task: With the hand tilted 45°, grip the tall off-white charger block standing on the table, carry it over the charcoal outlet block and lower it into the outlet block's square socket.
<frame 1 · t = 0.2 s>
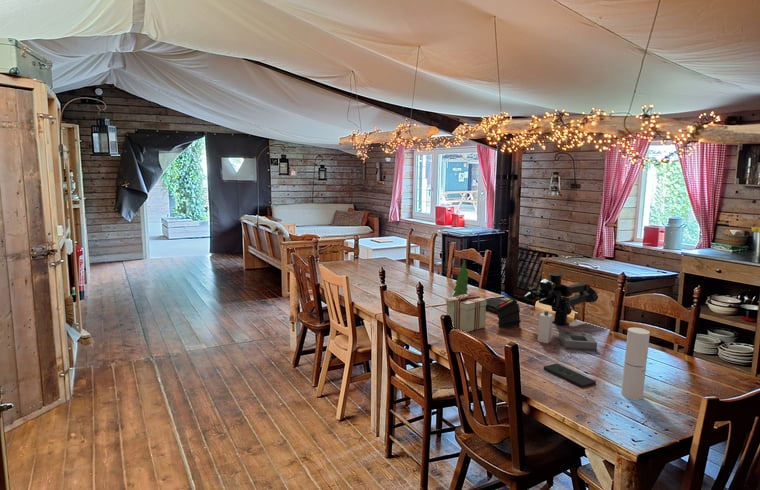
hand: (531, 299, 254), 17 cm above the table, tool horizontal, fingers open, 9 cm apart
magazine: (507, 327, 263), on the table
charger block: (544, 340, 243), on the table
gift box: (462, 326, 262), on the table
portable cd player: (498, 309, 297), on the table
decorative tree: (459, 310, 293), on the table
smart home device: (568, 377, 202), on the table
cylindrical container: (631, 396, 186), on the table
outlet block: (577, 346, 237), on the table
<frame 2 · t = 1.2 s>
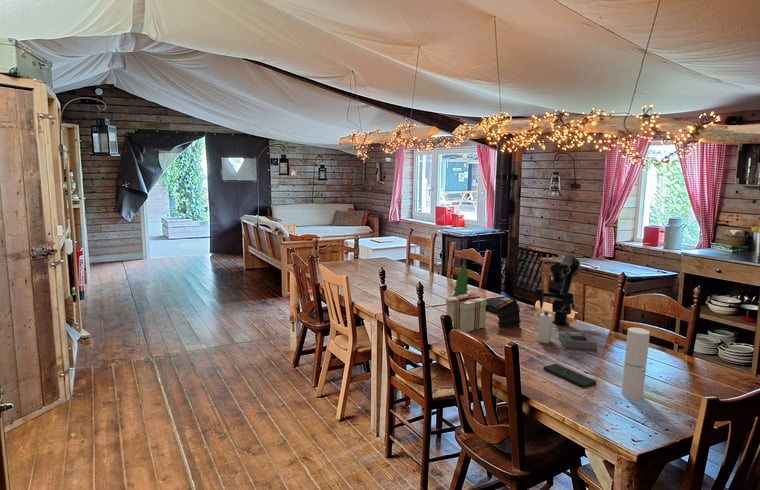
hand: (550, 310, 247), 13 cm above the table, tool tilted 45°, fingers open, 9 cm apart
nothing on the table moved.
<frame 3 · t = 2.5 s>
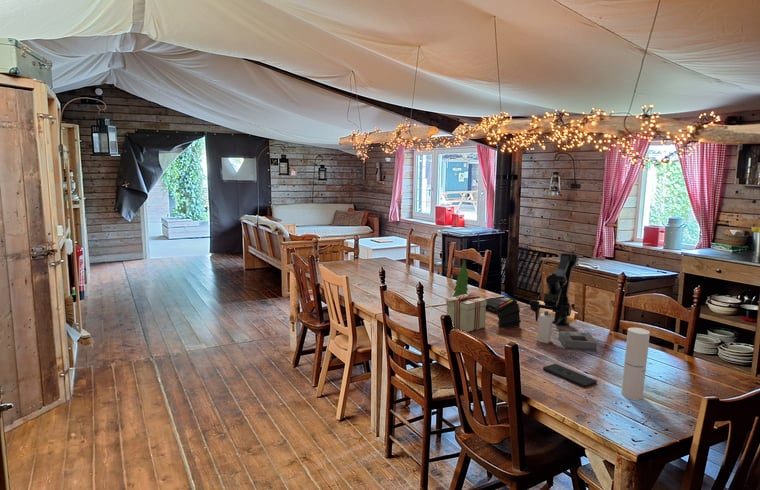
hand: (545, 322, 242), 9 cm above the table, tool tilted 45°, fingers open, 9 cm apart
nothing on the table moved.
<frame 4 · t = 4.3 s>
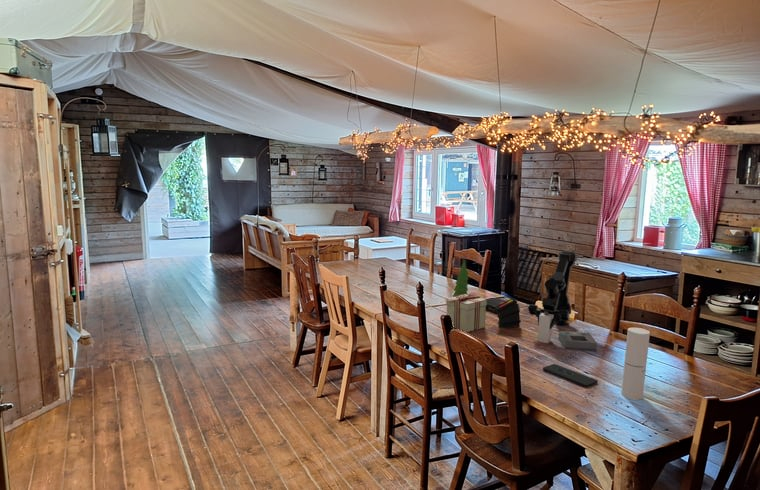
hand: (544, 327, 241), 7 cm above the table, tool tilted 45°, fingers closed on charger block, 5 cm apart
charger block: (544, 340, 243), on the table, touching gripper
everything else where it was.
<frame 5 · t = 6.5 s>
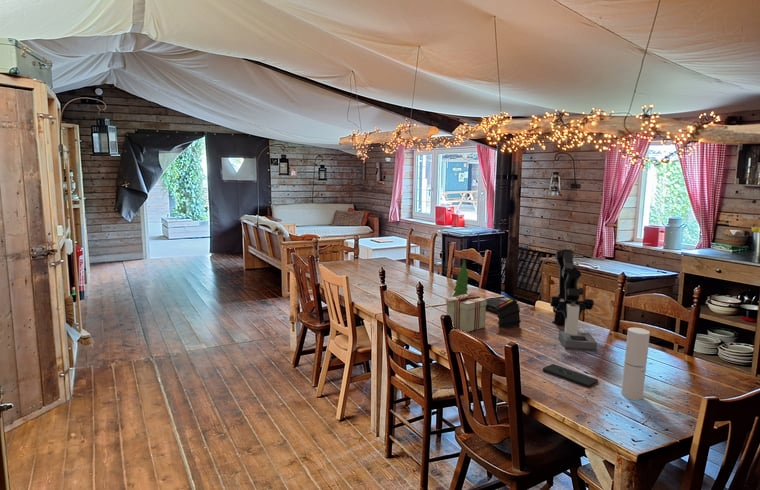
hand: (572, 318, 234), 13 cm above the table, tool tilted 45°, fingers closed on charger block, 5 cm apart
charger block: (570, 332, 237), point 6 cm above the table, touching gripper
when the fingers open (9 cm above the table, at t = 8.7 s): charger block stays where it is, resting on outlet block.
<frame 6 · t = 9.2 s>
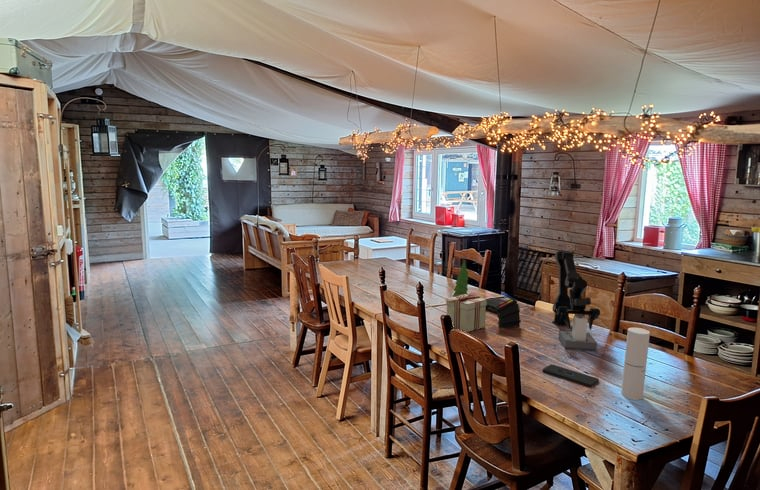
hand: (580, 328, 234), 9 cm above the table, tool tilted 45°, fingers open, 9 cm apart
charger block: (578, 344, 236), point 1 cm above the table, touching outlet block
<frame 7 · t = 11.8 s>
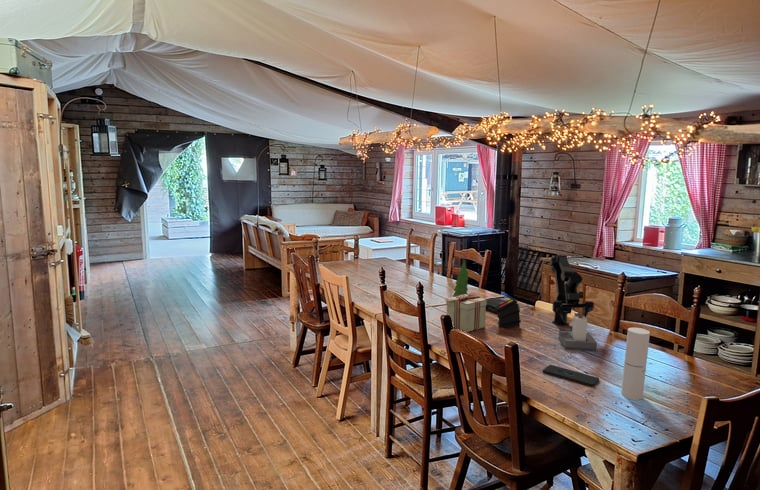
hand: (574, 321, 244), 9 cm above the table, tool tilted 40°, fingers open, 9 cm apart
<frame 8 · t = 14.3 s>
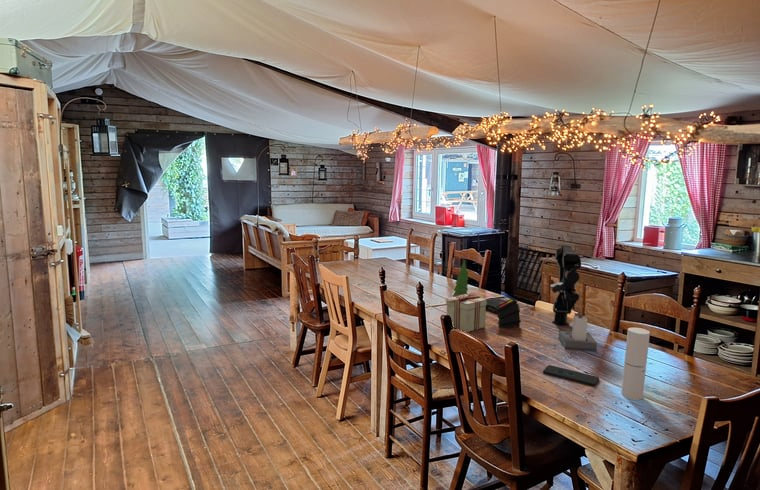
hand: (566, 308, 252), 13 cm above the table, tool pointing down, fingers open, 9 cm apart
at the end: charger block 0.0 cm off-centre on the outlet block, point 1.0 cm above the outlet block's base; charger block tilted 0°; the gripper is holding nothing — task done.
